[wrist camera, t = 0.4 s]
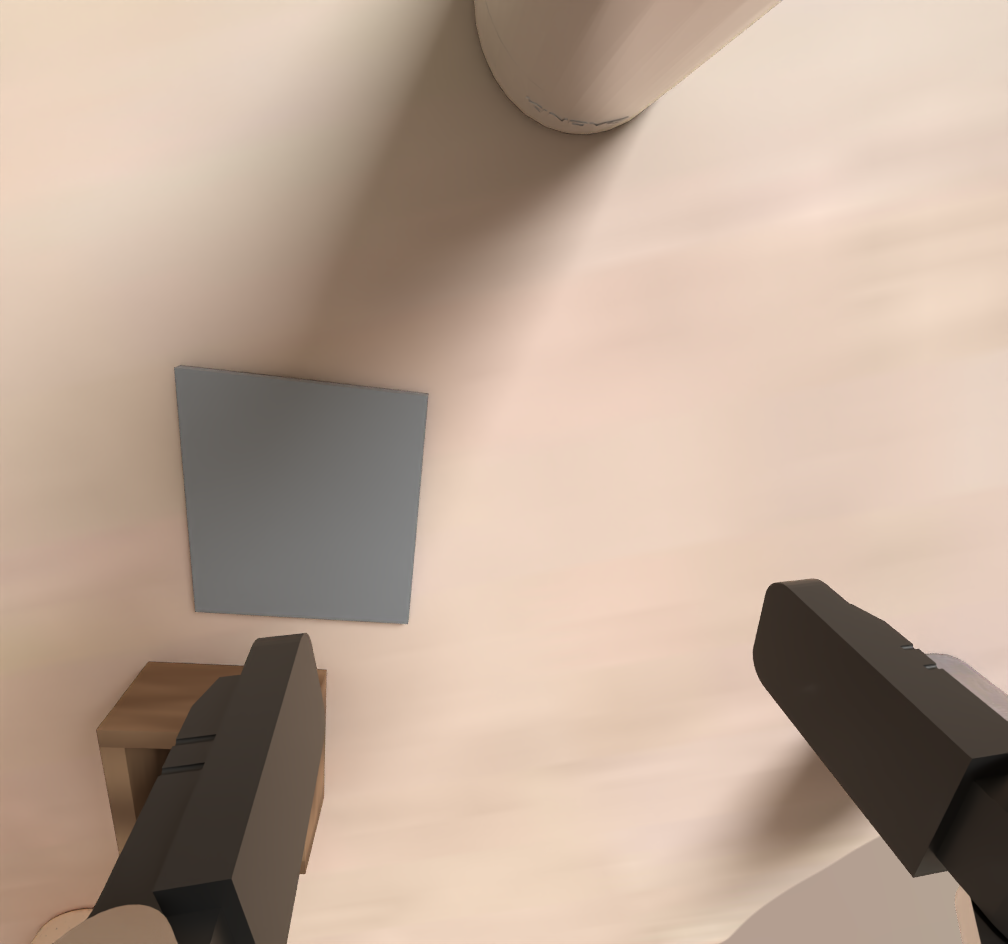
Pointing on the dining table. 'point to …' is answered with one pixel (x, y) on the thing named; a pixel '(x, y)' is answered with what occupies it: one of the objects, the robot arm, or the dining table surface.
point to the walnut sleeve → (164, 738)
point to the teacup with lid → (60, 926)
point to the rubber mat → (300, 494)
